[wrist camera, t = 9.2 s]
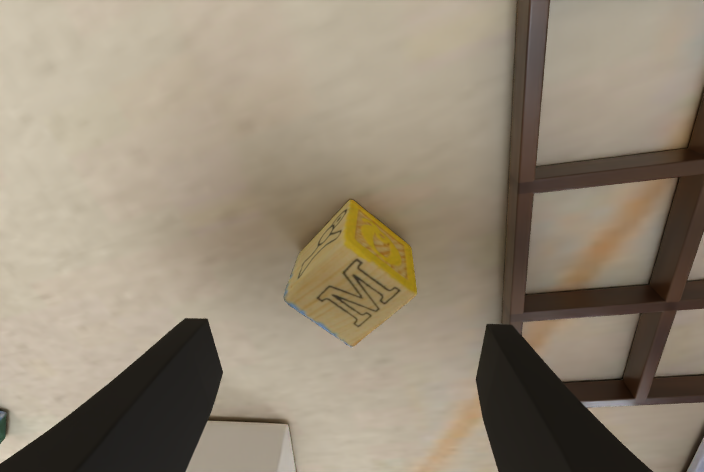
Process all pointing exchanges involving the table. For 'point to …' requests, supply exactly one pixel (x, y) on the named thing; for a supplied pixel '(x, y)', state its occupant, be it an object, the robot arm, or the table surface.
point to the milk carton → (243, 448)
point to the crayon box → (2, 425)
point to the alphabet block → (352, 275)
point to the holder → (526, 179)
